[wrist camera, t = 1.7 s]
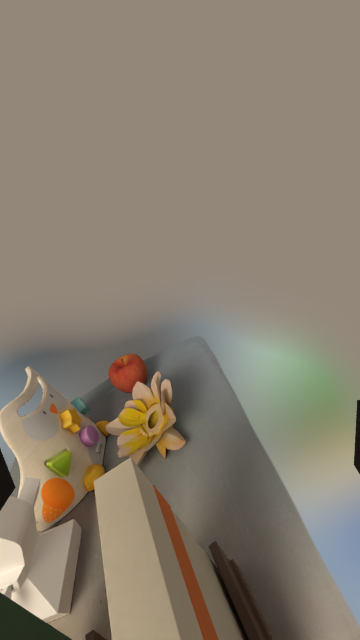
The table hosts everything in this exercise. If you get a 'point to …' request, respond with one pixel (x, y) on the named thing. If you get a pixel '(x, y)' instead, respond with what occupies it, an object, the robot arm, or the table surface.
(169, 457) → the table surface
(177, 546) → the book
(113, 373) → the apple
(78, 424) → the shape sorter
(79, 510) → the table surface
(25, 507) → the white angular piece
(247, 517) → the table surface
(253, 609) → the book rack
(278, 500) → the table surface
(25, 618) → the green book
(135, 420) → the decorative flower
